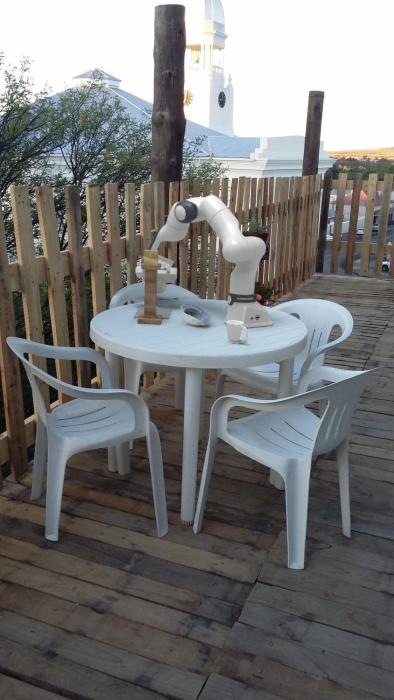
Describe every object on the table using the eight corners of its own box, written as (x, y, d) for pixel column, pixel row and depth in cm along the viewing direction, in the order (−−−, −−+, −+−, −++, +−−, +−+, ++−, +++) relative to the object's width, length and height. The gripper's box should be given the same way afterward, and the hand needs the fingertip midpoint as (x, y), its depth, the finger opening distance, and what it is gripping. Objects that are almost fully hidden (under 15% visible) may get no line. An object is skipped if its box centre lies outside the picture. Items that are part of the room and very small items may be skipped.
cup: (232, 338, 237) (233, 319, 235) (251, 343, 231) (253, 324, 228) (221, 341, 232) (222, 321, 229) (241, 346, 226) (242, 326, 223)
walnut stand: (140, 318, 263) (141, 261, 255) (162, 319, 263) (163, 262, 255) (137, 323, 253) (138, 264, 246) (160, 324, 253) (161, 266, 246)
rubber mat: (139, 307, 285) (139, 306, 285) (171, 308, 285) (171, 307, 285) (134, 317, 264) (134, 316, 264) (168, 319, 264) (168, 318, 264)
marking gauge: (147, 259, 263) (147, 246, 261) (160, 260, 263) (160, 246, 261) (143, 264, 247) (143, 250, 246) (157, 265, 247) (157, 251, 246)
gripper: (136, 270, 285) (134, 259, 272) (177, 272, 285) (177, 261, 271) (136, 282, 283) (133, 271, 270) (177, 283, 283) (176, 273, 270)
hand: (155, 266), depth 271 cm, fingers open, 8 cm apart
